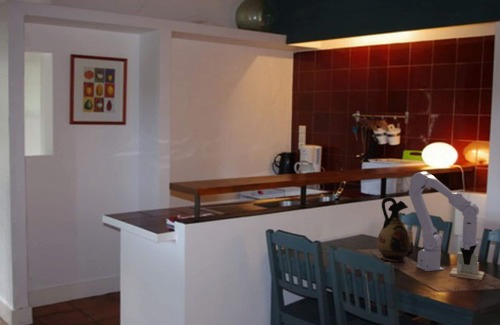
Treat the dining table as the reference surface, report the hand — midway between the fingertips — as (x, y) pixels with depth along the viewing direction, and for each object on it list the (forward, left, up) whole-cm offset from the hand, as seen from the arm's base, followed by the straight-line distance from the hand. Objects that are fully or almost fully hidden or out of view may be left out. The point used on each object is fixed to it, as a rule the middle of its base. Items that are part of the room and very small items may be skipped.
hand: (467, 262), depth 255 cm
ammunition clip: (-6, +42, -5) cm, 43 cm away
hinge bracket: (-1, -1, -5) cm, 5 cm away
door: (0, 0, -4) cm, 4 cm away
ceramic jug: (-19, +31, -5) cm, 37 cm away
